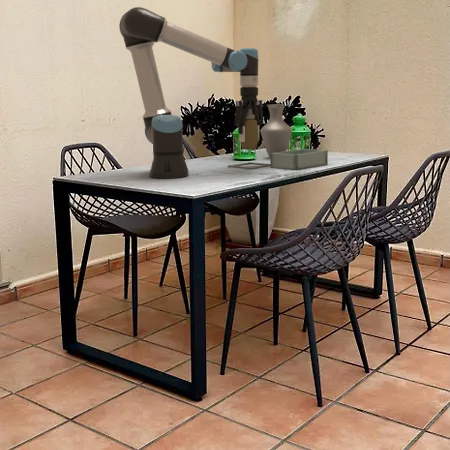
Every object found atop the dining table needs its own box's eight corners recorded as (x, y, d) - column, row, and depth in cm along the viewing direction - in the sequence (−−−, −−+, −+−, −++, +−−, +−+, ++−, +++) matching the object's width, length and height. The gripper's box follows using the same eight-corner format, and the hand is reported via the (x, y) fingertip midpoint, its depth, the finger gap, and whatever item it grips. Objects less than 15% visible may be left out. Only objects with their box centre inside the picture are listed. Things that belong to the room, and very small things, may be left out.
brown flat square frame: (251, 169, 264) (251, 167, 264) (227, 166, 274) (227, 165, 274) (273, 165, 273) (273, 164, 273) (250, 163, 283) (250, 162, 283)
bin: (295, 170, 258) (295, 155, 256) (270, 167, 267) (270, 153, 266) (327, 164, 272) (327, 150, 271) (302, 162, 282) (302, 148, 280)
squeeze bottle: (262, 149, 270) (262, 106, 266) (244, 150, 267) (244, 106, 263) (253, 147, 277) (253, 105, 273) (236, 148, 274) (236, 106, 270)
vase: (284, 156, 308) (284, 103, 303) (297, 159, 295) (296, 104, 290) (256, 157, 304) (255, 104, 299) (268, 161, 291) (267, 105, 285)
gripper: (237, 86, 257) (238, 143, 262) (272, 86, 271) (272, 140, 276) (225, 86, 262) (225, 142, 267) (259, 86, 276) (259, 139, 281)
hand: (249, 141), depth 271 cm, fingers closed on squeeze bottle, 8 cm apart
